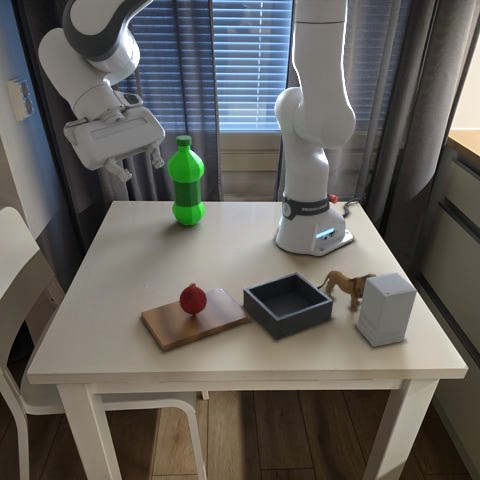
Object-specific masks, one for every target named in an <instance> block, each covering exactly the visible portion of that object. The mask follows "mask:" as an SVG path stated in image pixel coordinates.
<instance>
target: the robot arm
mask: <svg viewBox="0 0 480 480" xmlns="http://www.w3.org/2000/svg"><path fill="white" fill-rule="evenodd" d="M153 1H154V0H68V1H67V3H66V4H65V7H64V9H63V13H62V21H61V23H62V27H56V28H53V29H51V30H49V31H48V32H47V33H46V34H45V35H44V36H43V37H42V39H41V41H40V43H39V46H38V59H39V62H40V64H41V67H42V69H43V71H44V72H45V74H46V76H47V78H48V79H49V81H50V82H51V84H52V85H53V87H54V88H55V89H56V91H57V92H58V94H59V95H60V96H61V97H62V98H63V99H64V100H66V101H67V102H68V104H69V106H70V109H71V111H72V112H73V114H74V115H75V117H76V118H77V119H76V120H74V121H68V122H66V123H65V126H63V134H64V137H65V138H66V139H67V140H68V142H69V143H70V144H71V146H72V148H73V150H74V152H75V154H76V155H77V157H78V158H79V160H80V162H81V164H82V165H83V166H84V168H86V169H88V170H90V171H95V170H99V169H101V168H103V167H105V169H106V170H107V171H108V172H110V173H111V174H113V175H114V176H116V177H118V178H119V180H120V181H121V182H122V183H127V182H129V181H130V180H131V179H132V178H133V176H132V173H130V171H129V169H128V168H123V167H121V166H120V165H119V164H117V163H118V162H119V161H122V160H125V159H127V158H130V157H133V156H136V155H138V154H141V153H144V152H146V151H147V153H148V154H149V155H152V159H153V160H152V161H151V164H152V165H153V166H154V168H155V169H156V170H158V169H160V168H163V166H164V165H165V161H164V159H163V157H162V156H161V151H160V146H161V144H162V143H163V141H165V139H166V132H165V129H164V128H163V126H162V125H161V124H160V122H159V121H158V119H157V118H156V116H155V115H154V114H153V113H152V111H150V109H148V108H147V107H145V106H143V104H144V101H143V99H142V98H141V96H140V95H138V94H136V93H128V92H123V91H118V90H114V89H113V88H112V87H113V86H115V85H117V84H119V83H121V82H122V81H125V80H126V79H128V78H129V77H130V76H132V75H133V74H134V72H136V70H137V68H138V66H139V62H140V56H141V54H140V48H139V45H138V42H137V40H136V39H135V37H134V36H133V35H134V34H132V31H131V30H130V28H129V27H128V26H129V23H130V21H131V20H132V19H133V17H135V16H136V15H137V14H139V13H140V12H141V11H142V10H144V8H146V7H147V6H148V5H150V4H151V3H152V2H153ZM294 1H295V5H294V7H295V8H294V20H293V39H292V65H293V68H294V69H295V71H296V73H297V76H298V81H299V85H300V86H295V87H288V88H286V89H284V90H283V91H282V92H281V93H280V94H279V95H278V96H277V98H276V100H275V104H274V108H273V109H274V110H273V111H274V117H275V120H276V122H277V124H278V125H279V126H278V127H279V130H280V133H281V139H282V144H283V152H284V159H285V177H284V179H285V180H284V191H283V192H282V200H281V214H282V215H281V218H280V220H279V223H278V226H279V229H278V231H277V235H276V237H275V243H276V245H277V246H278V247H279V248H281V249H282V250H284V251H286V252H288V253H289V252H290V253H294V254H300V255H311V256H316V257H322V256H324V255H327V254H328V253H331V252H332V251H334V250H337V249H338V248H340V247H342V246H344V245H347V244H349V243H350V242H353V237H354V236H353V234H352V233H351V232H350V231H349V230H347V226H346V225H347V224H346V219H345V217H346V216H347V215H348V214H349V212H350V211H349V208H348V207H347V206H348V205H349V204H350V203H352V202H356V201H357V202H359V203H361V202H362V199H360V198H358V197H357V198H352V199H350V200H348V201H346V202H345V203H344V205H343V206H344V207H343V208H344V210H345V213H343V214H341V213H340V212H339V211H337V210H336V209H334V208H333V207H332V206H331V204H330V203H332V204H333V205H335V204H337V202H338V201H339V197H338V196H336V195H334V194H332V193H331V194H329V193H328V191H327V190H328V183H329V176H330V175H329V174H330V163H329V160H328V159H327V157H326V154H325V151H324V149H327V150H337V149H340V148H342V147H344V146H345V145H346V144H348V142H349V141H350V140H351V138H352V136H353V135H354V134H355V133H354V132H355V129H356V124H357V118H356V115H355V111H354V110H353V108H352V106H351V104H350V102H349V98H348V95H347V90H346V84H345V77H344V64H343V63H344V62H343V61H344V48H345V47H344V46H345V35H346V27H347V18H348V4H349V3H348V2H349V0H294Z"/></svg>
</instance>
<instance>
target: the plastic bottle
mask: <svg viewBox="0 0 480 480" xmlns="http://www.w3.org/2000/svg"><path fill="white" fill-rule="evenodd" d="M192 143H193V142H192V136H191V135H177V136H176V137H175V144H176V146H177V147H178V150H177V151H176V152H175V153H174V154H172V156H171V157H170V158H169V159H168V160H167V164H166V169H167V173H168V176H169V177H170V178H171V180H172V185H173V186H172V187H173V195H174V196H173V197H174V202H173V205H172V207H171V210H172V214H173V216H174V218H175V219H176V221H178V222H179V223H181V225H184V226H193V225H197V224H198V222H200V220H201V219H202V218H203V217H204V216H205V213H206V210H205V206H204V204H203V202H202V190H201V189H202V188H201V178H202V177H203V175H204V173H205V164H204V162H203V160H202V159H201V158H200V157H199V156H198V155H197V154H196V153H195V152H194V151H192V150H191V145H192Z"/></svg>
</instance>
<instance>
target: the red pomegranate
mask: <svg viewBox="0 0 480 480" xmlns="http://www.w3.org/2000/svg"><path fill="white" fill-rule="evenodd" d="M179 301H180V306H181V308H182V309H183V310H184V312H186V313H188V314H192V315H196V314H198V313H200V312H201V311H202V310H204V308H205V306H206V304H207V298H206V294H205V291H204V290H203V289H202V288H200V287H199V286H197V283H196V282H191V283H190V284H189V285H188V286H186V287H185V288H184V289H183V290H182V291H181V293H180V294H179Z"/></svg>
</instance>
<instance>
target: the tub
mask: <svg viewBox="0 0 480 480" xmlns="http://www.w3.org/2000/svg"><path fill="white" fill-rule="evenodd" d="M242 297H243V298H242V299H243V304H242V307H243V308H244V309H245V311H246V312H247V313H248V314H250V316H252V318H254V320H255V321H256V322H257V323H258V324H259V325H260V326H261V327H263V329H264V330H265V331H266V332H267V333H268V334H269V335H270V336H271V337H272V338H273V339H274V340H275V341H277V340H280V339H283V338H285V337H287V336H291V335H292V334H295V333H299V332H300V331H303V330H306V329H308V328H311V327H314V326H316V325H319V324H322V323H325V322H327V321H330V320H331V318H332V312H333V307H334V299H333V300H332V299H331V298H329V297H328V294H327V295H326V293H325V292H323V291H322V290H321V289H318V288H317V286H316V285H314V284H313V283H312V282H310V281H309V280H308V279H306V278H305V277H303V276H302V275H301V274H300V273H298V272H297V271H296V272H291V273H289V274H287V275H283V276H281V277H276V278H273V279H271V280H268V281H267V280H266V281H264V282H260V283H258V284H254V285H252V286H249V287H246V288H243V295H242Z"/></svg>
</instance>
